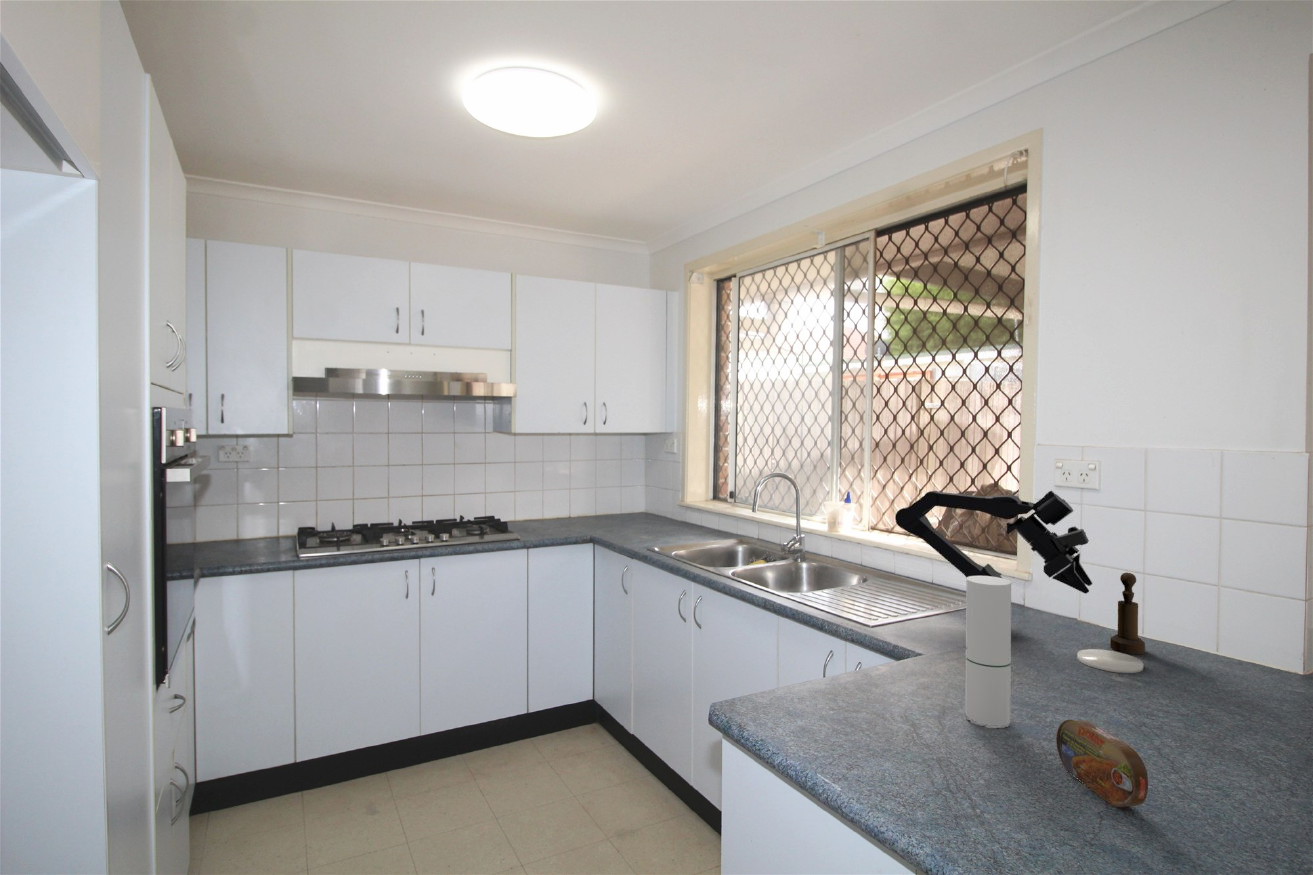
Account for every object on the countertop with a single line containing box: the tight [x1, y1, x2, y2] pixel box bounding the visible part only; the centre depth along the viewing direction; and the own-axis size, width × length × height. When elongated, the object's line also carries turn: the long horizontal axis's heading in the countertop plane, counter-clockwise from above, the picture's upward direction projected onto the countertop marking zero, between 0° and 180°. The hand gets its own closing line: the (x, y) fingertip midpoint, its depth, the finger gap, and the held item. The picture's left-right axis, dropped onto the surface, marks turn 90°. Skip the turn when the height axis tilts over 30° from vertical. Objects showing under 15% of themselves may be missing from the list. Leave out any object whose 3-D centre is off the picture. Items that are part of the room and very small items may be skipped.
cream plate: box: [1076, 648, 1144, 674], centre depth 147 cm, size 12×12×1 cm
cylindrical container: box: [964, 576, 1012, 726], centre depth 119 cm, size 7×7×25 cm
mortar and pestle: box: [1109, 572, 1146, 655], centre depth 155 cm, size 7×6×18 cm
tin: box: [1055, 719, 1149, 808], centre depth 96 cm, size 15×3×8 cm, turn 5°
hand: (1089, 588), depth 160 cm, fingers open, 9 cm apart
